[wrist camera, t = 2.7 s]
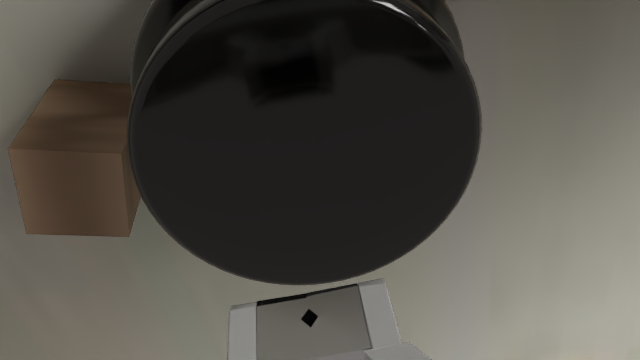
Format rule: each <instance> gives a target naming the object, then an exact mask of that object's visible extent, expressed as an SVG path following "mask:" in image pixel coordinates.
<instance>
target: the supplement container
mask: <svg viewBox="0 0 640 360" xmlns="http://www.w3.org/2000/svg"><path fill="white" fill-rule="evenodd" d="M130 95H131V105H130V110H129V115H128V124H127V151H128V157H129V163H130V168H131V171H132V175H133V178H134V181H135V184H136V186H137V188H138V191H139V193H140V195H141V197H142V199H143V201H144V203H145V204H146V206H147V208H148V210H149V211H150V213H151V214H152V215H153V217H154V218H155V219H156V221H157V222H158V223H159V225H160V226H161V227H162V228H163V229H164V230H165V231H166V232H167V233H168V234H169V236H171V237H172V238H173V239H174V240H175V241H176V242H177V243H178V244H180V245H181V246H182V247H183V248H185V249H186V250H187V251H189V252H190V253H192V254H193V255H194V256H196V257H198V258H200V259H201V260H203V261H205V262H206V263H208V264H210V265H212V266H214V267H216V268H219V269H221V270H223V271H226V272H228V273H231V274H234V275H236V276H240V277H243V278H247V279H250V280H255V281H260V282H265V283H272V284H280V285H316V284H325V283H332V282H337V281H342V280H346V279H350V278H354V277H358V276H361V275H364V274H366V273H369V272H372V271H375V270H377V269H379V268H381V267H384V266H386V265H388V264H390V263H392V262H394V261H395V260H397V259H399V258H401V257H403V256H404V255H406V254H407V253H409V252H410V251H412V250H413V249H415V248H416V247H417V246H418V245H420V244H421V243H422V242H424V241H425V240H426V239H427V238H428V237H429V236H430V235H432V234H433V233H434V232H435V231H436V230H437V229H438V228H439V227H440V226H441V225H442V223H443V222H444V221H445V220H446V219H447V218H448V217H449V215H450V214H451V213H452V211H453V210H454V209H455V207H456V206H457V204H458V203H459V201H460V199H461V198H462V196H463V194H464V193H465V191H466V189H467V187H468V184H469V182H470V180H471V178H472V175H473V172H474V169H475V166H476V163H477V159H478V154H479V150H480V144H481V133H482V119H481V108H480V102H479V96H478V93H477V89H476V86H475V82H474V80H473V77H472V75H471V72H470V70H469V68H468V65H467V64H466V62H465V59H464V52H463V46H462V42H461V38H460V35H459V31H458V27H457V25H456V23H455V20H454V18H453V15H452V13H451V11H450V9H449V7H448V5H447V4H446V2H445V0H153V1H152V3H151V4H150V6H149V8H148V10H147V12H146V14H145V16H144V18H143V20H142V23H141V25H140V27H139V30H138V34H137V37H136V40H135V43H134V48H133V53H132V58H131V68H130Z"/></svg>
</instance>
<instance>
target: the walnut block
mask: <svg viewBox="0 0 640 360" xmlns="http://www.w3.org/2000/svg"><path fill="white" fill-rule="evenodd" d="M130 105H131V95H130V84H120V83H104V82H87V81H71V80H54V82H53V83H52V84H51V86H50V87H49V89H48V90H47V92H46V93H45V95H44V96H43V98H42V99H41V101H40V102H39V104H38V105H37V107H36V108H35V110H34V111H33V113H32V114H31V115H30V117H29V118H28V120H27V121H26V123H25V124H24V126H23V127H22V129H21V130H20V132H19V133H18V135H17V136H16V138H15V139H14V141H13V142H12V144H11V145H10V147H9V148H8V151H9V156H10V161H11V165H12V170H13V174H14V179H15V184H16V188H17V193H18V198H19V202H20V207H21V211H22V216H23V221H24V225H25V230H26V234H47V235H82V236H117V237H129V235H130V232H131V228H132V225H133V221H134V218H135V214H136V211H137V207H138V204H139V200H140V197H141V195H140V193H139V191H138V188H137V186H136V184H135V181H134V178H133V175H132V171H131V168H130V163H129V157H128V151H127V124H128V115H129V110H130Z"/></svg>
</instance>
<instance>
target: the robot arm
mask: <svg viewBox="0 0 640 360" xmlns="http://www.w3.org/2000/svg"><path fill="white" fill-rule="evenodd" d="M227 360H432V359H430V358H429V357H428V356H427V355H425V354H424V353H423V352H422V351H420V350H419V349H418V348H417V347H415V346H414V345H413V344H411V343H410V342H409V343H403V344H402V341H401V337H400V333H399V330H398V326H397V322H396V319H395V315H394V311H393V308H392V304H391V300H390V297H389V293H388V289H387V286H386V282H385V281H384V279H383V278H381V279H376V280H371V281H366V282H361V283H358V285H357V283H356V284H351V285H346V286H341V287H336V288H330V289H325V290H320V291H315V292H310V293H307V294H300V295H294V296H288V297H281V298H275V299H269V300H263V301H257V302H254V303H247V304H241V305H234V306H231V309H230V312H229V328H228V352H227Z"/></svg>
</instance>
